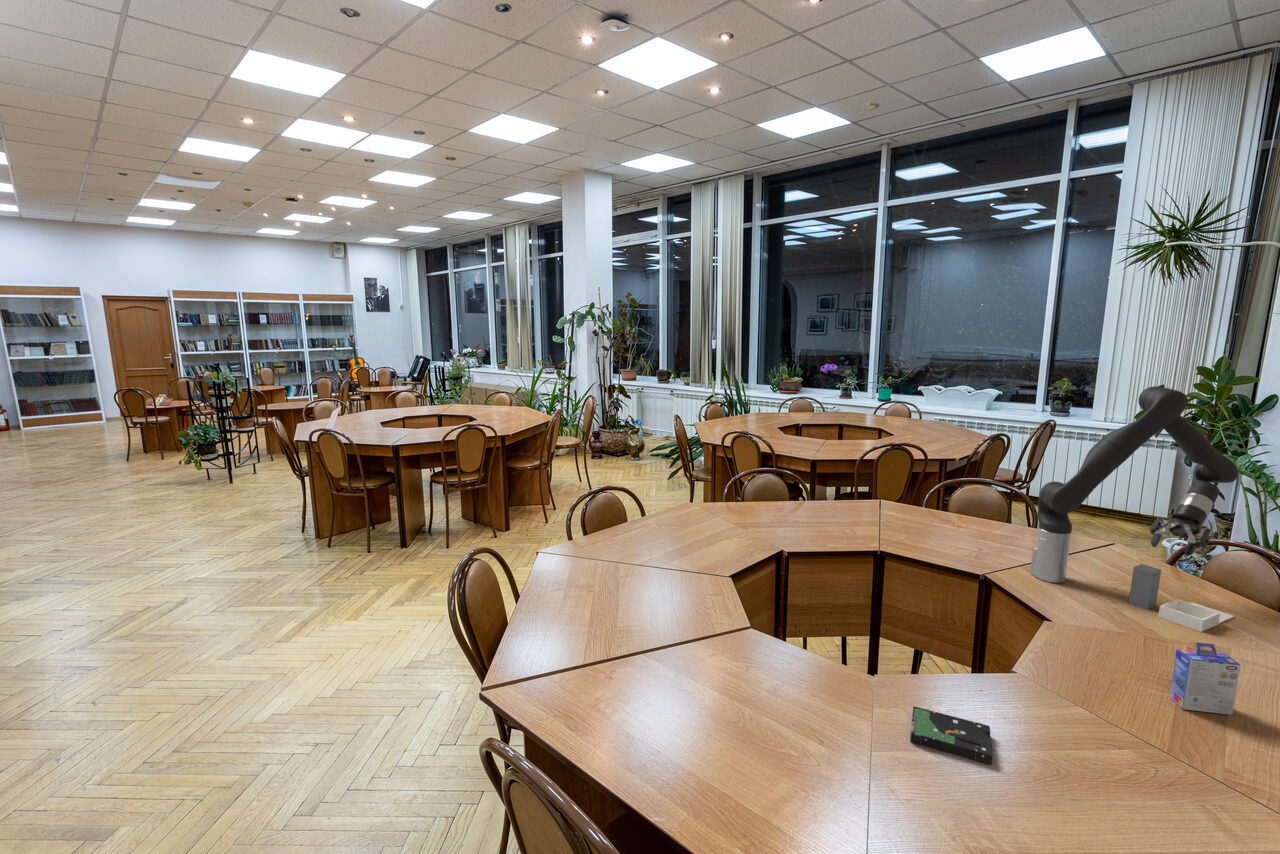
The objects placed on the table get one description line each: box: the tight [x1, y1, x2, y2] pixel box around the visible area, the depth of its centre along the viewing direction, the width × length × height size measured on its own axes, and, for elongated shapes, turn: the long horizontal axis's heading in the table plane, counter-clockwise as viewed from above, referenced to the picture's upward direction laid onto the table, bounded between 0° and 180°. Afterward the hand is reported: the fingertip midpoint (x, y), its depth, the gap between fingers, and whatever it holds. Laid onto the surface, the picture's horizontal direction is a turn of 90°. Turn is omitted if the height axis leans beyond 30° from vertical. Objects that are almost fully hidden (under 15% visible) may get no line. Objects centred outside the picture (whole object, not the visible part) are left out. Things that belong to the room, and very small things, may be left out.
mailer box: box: [1157, 598, 1235, 633], centre depth 181 cm, size 10×20×4 cm, turn 117°
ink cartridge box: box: [1169, 641, 1242, 716], centre depth 137 cm, size 10×6×14 cm, turn 78°
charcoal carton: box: [1128, 563, 1162, 610], centre depth 188 cm, size 5×5×12 cm
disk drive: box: [909, 706, 994, 766], centre depth 126 cm, size 10×3×15 cm
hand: (1169, 550), depth 192 cm, fingers open, 8 cm apart
